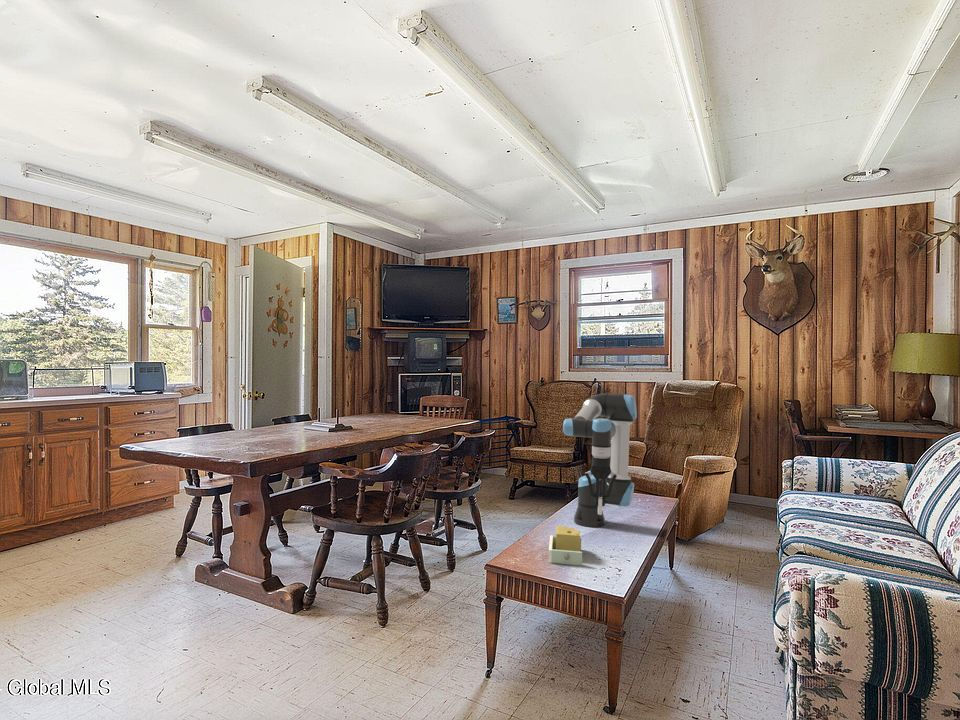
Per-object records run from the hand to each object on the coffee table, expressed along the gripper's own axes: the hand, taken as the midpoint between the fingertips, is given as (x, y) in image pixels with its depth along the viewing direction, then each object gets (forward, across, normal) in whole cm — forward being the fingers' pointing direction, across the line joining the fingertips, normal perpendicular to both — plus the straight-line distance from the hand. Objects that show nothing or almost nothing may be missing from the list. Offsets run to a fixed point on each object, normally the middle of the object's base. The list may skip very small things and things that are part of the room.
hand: (599, 513), depth 210 cm
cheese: (+18, -13, +1) cm, 22 cm away
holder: (+18, -13, -1) cm, 22 cm away
